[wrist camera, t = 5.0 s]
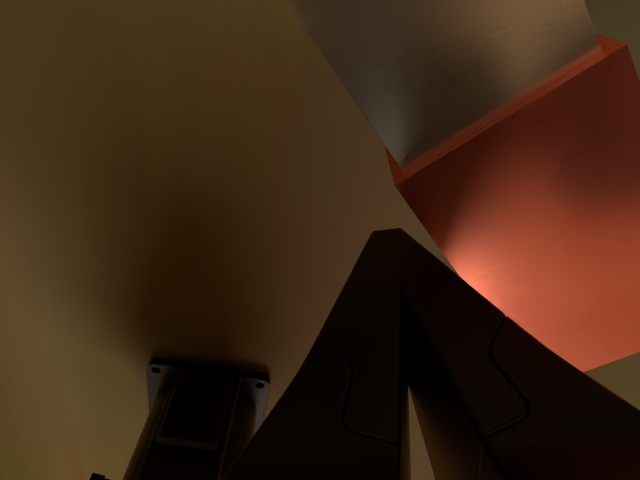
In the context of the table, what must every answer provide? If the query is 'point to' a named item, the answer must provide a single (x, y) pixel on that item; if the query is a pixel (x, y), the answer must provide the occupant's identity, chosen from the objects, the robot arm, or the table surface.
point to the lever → (508, 151)
